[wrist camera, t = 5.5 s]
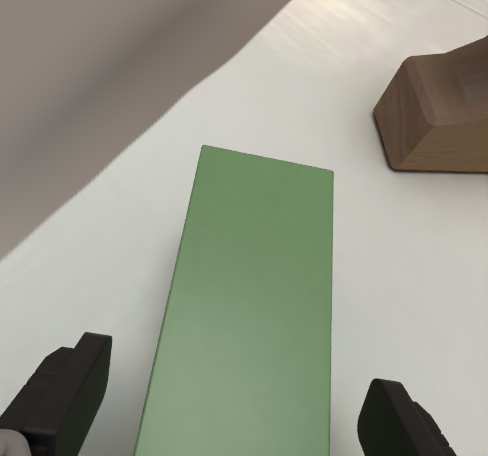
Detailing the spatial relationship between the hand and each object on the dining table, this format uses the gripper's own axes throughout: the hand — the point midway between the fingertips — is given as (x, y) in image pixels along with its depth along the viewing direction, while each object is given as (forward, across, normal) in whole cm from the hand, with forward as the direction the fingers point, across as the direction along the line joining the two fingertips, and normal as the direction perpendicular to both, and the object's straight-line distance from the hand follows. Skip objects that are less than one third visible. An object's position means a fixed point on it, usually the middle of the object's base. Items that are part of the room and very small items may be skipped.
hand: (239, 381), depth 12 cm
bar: (+5, 0, +4) cm, 7 cm away
